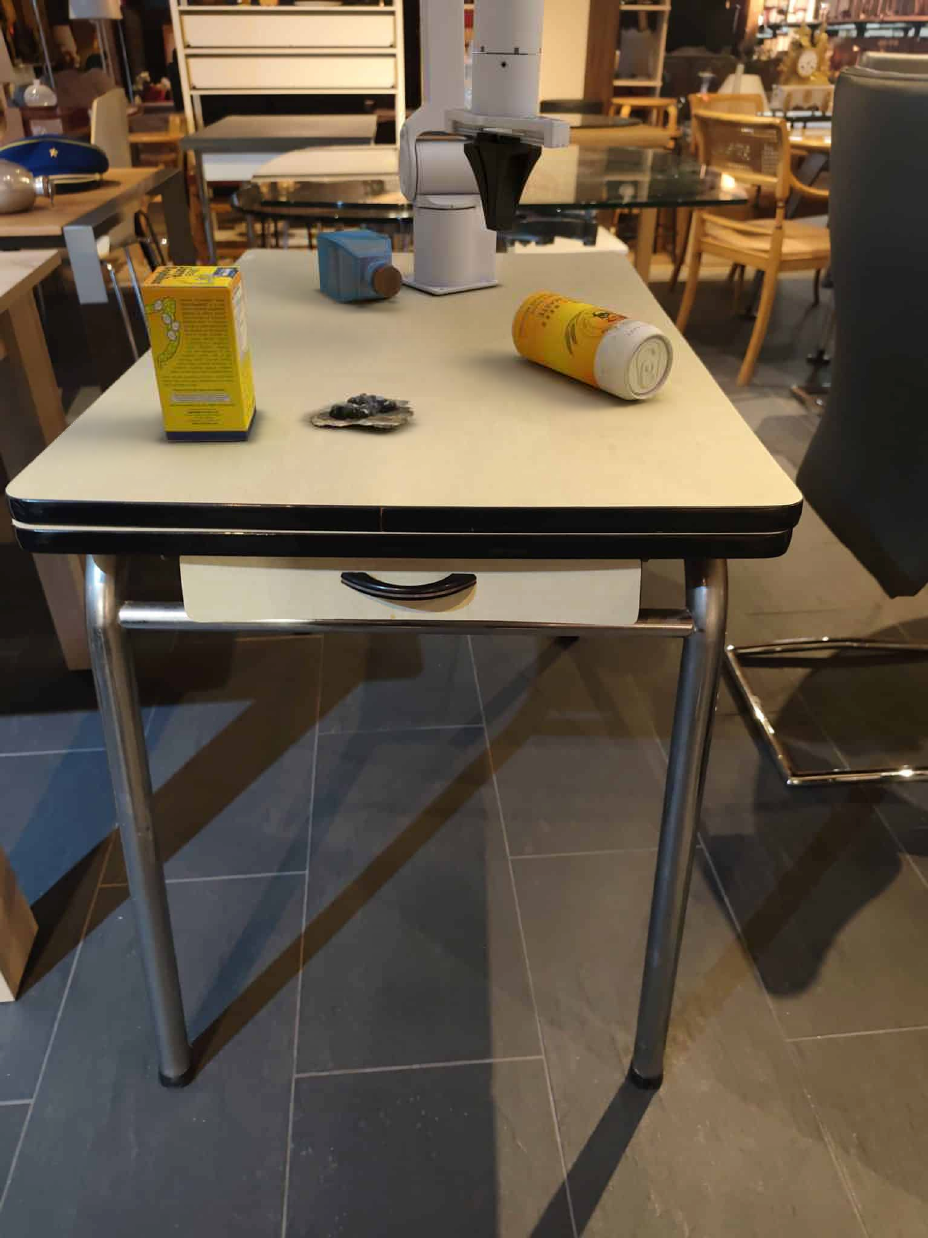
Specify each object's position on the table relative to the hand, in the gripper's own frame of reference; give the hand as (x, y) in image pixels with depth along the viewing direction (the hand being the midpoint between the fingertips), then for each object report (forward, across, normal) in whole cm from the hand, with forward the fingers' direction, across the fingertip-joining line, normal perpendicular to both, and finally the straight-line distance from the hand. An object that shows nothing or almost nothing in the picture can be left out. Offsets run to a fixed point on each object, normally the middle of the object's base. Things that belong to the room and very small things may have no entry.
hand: (499, 229), depth 81 cm
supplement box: (+10, +6, -32) cm, 34 cm away
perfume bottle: (+7, -27, -1) cm, 28 cm away
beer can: (+7, +6, 0) cm, 9 cm away
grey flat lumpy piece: (+10, +10, -22) cm, 27 cm away
